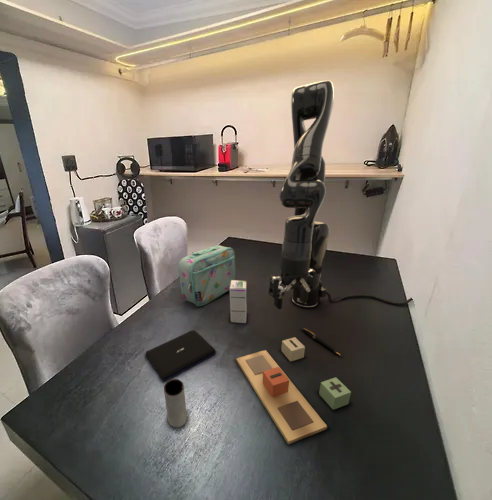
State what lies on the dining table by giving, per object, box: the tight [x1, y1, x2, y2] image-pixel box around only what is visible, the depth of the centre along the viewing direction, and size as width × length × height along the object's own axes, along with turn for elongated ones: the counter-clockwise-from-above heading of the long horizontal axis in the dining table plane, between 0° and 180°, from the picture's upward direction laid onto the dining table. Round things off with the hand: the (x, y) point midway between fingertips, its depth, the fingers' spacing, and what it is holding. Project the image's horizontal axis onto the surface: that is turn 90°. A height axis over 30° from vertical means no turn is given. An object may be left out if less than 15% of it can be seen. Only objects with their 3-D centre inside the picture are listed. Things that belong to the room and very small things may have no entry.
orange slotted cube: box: [263, 366, 290, 397], centre depth 67 cm, size 5×5×4 cm
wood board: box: [235, 349, 328, 445], centre depth 68 cm, size 10×25×1 cm, turn 17°
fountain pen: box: [301, 328, 341, 356], centre depth 83 cm, size 14×1×2 cm, turn 27°
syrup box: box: [229, 279, 248, 324], centre depth 95 cm, size 6×6×14 cm
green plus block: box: [318, 376, 352, 411], centre depth 64 cm, size 5×5×4 cm
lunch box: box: [177, 244, 237, 307], centre depth 110 cm, size 27×10×21 cm, turn 131°
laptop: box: [145, 329, 217, 382], centre depth 82 cm, size 16×20×2 cm
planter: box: [163, 378, 188, 429], centre depth 61 cm, size 4×4×10 cm
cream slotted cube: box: [280, 336, 306, 362], centre depth 79 cm, size 5×5×4 cm
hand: (290, 304), depth 78 cm, fingers open, 8 cm apart
